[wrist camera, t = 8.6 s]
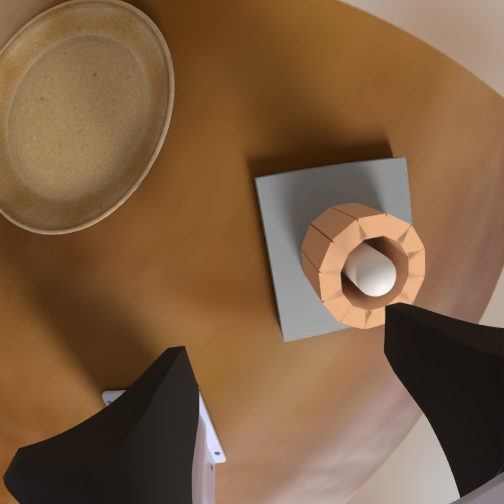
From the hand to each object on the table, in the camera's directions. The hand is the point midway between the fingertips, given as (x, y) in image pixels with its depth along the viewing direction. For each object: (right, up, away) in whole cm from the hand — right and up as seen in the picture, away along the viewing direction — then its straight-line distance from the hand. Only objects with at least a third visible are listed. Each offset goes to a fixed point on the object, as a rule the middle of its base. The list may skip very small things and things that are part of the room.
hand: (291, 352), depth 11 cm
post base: (+4, +4, +9) cm, 11 cm away
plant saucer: (-13, +12, +6) cm, 19 cm away
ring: (+4, +3, +7) cm, 9 cm away
